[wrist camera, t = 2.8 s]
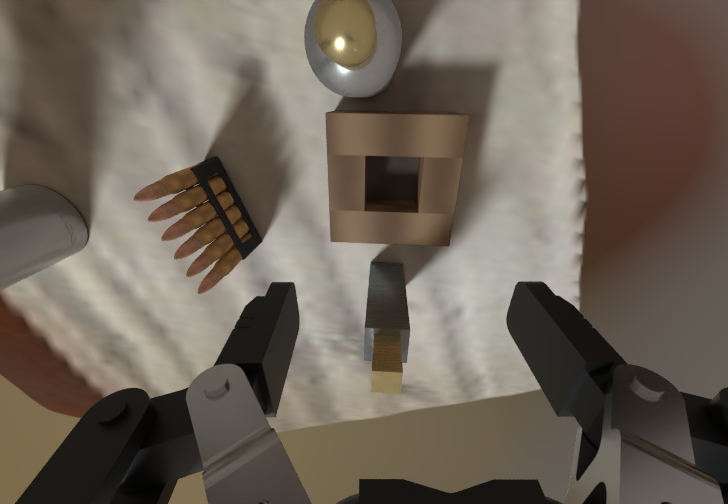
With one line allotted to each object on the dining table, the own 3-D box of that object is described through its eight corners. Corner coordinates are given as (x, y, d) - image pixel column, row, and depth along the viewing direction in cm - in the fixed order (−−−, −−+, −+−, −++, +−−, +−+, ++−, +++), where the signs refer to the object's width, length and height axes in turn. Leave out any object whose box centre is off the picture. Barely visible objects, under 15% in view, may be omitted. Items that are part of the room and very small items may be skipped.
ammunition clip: (203, 161, 33) (116, 191, 22) (217, 155, 33) (136, 183, 22) (249, 245, 37) (195, 304, 27) (262, 241, 37) (213, 299, 26)
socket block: (337, 223, 35) (330, 241, 31) (334, 110, 30) (325, 112, 25) (440, 227, 35) (449, 246, 30) (457, 112, 29) (469, 115, 25)
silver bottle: (336, 97, 29) (289, 96, 15) (334, 26, 27) (276, -56, 13) (393, 98, 29) (402, 97, 15) (397, 26, 26) (411, -57, 12)
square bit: (369, 289, 39) (361, 397, 25) (370, 262, 37) (361, 362, 23) (400, 290, 39) (409, 400, 25) (402, 263, 37) (414, 366, 23)
